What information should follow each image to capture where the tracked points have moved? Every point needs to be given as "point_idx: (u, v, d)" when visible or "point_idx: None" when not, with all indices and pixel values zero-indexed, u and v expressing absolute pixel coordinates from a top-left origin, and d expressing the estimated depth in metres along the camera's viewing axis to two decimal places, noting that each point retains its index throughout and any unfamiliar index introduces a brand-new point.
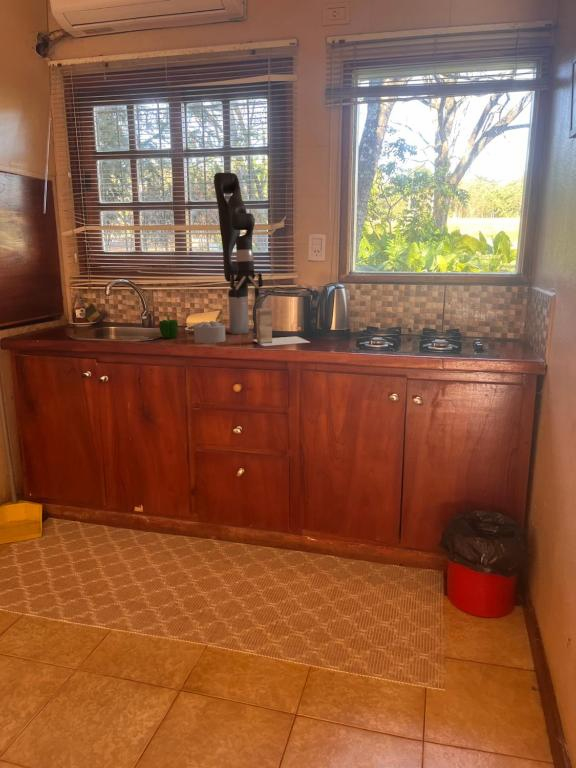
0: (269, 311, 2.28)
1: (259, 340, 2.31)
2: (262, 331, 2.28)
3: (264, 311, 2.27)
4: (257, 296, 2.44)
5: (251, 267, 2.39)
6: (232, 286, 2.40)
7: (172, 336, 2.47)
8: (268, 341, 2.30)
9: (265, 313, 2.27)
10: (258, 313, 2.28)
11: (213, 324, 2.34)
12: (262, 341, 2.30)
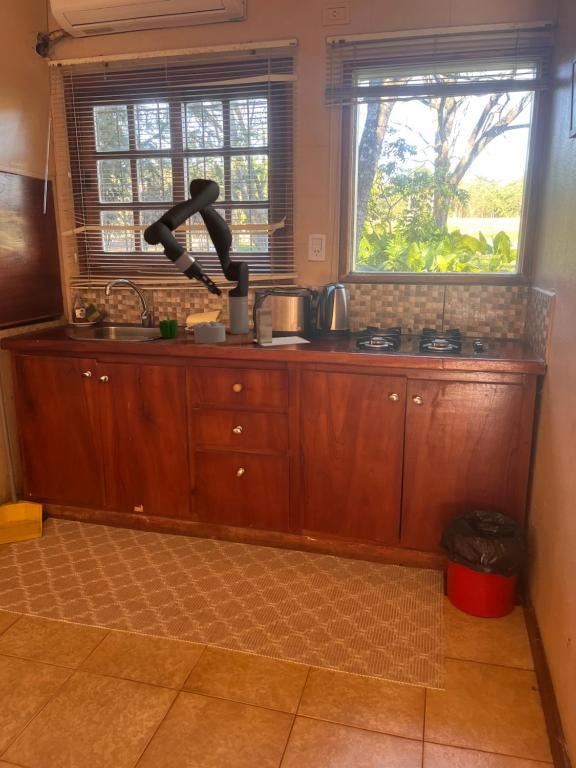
0: (269, 311, 2.28)
1: (259, 340, 2.31)
2: (262, 331, 2.28)
3: (264, 311, 2.27)
4: (218, 295, 2.17)
5: (189, 276, 2.13)
6: (203, 285, 2.24)
7: (172, 336, 2.47)
8: (268, 341, 2.30)
9: (265, 313, 2.27)
10: (258, 313, 2.28)
11: (213, 324, 2.34)
12: (262, 341, 2.30)
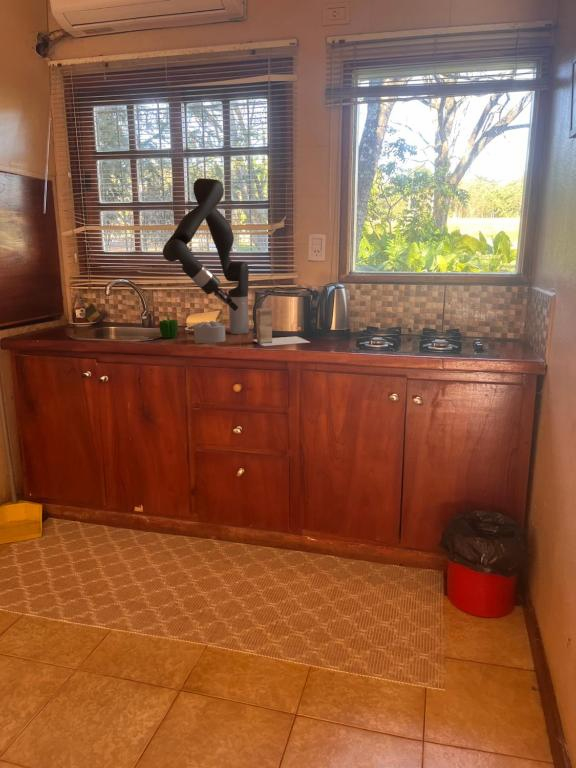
0: (269, 311, 2.28)
1: (259, 340, 2.31)
2: (262, 331, 2.28)
3: (264, 311, 2.27)
4: (234, 310, 2.24)
5: (207, 291, 2.17)
6: None
7: (172, 336, 2.47)
8: (268, 341, 2.30)
9: (265, 313, 2.27)
10: (258, 313, 2.28)
11: (213, 324, 2.34)
12: (262, 341, 2.30)
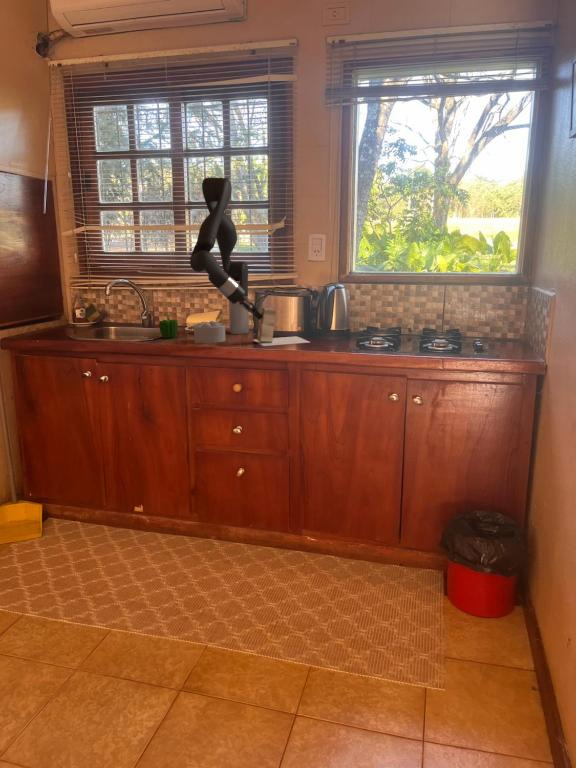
0: (273, 311, 2.28)
1: (259, 338, 2.31)
2: (263, 330, 2.29)
3: (269, 310, 2.27)
4: None
5: (232, 301, 2.22)
6: (248, 311, 2.30)
7: (172, 336, 2.47)
8: (268, 340, 2.30)
9: (269, 312, 2.28)
10: (262, 311, 2.29)
11: (213, 324, 2.34)
12: (262, 340, 2.29)
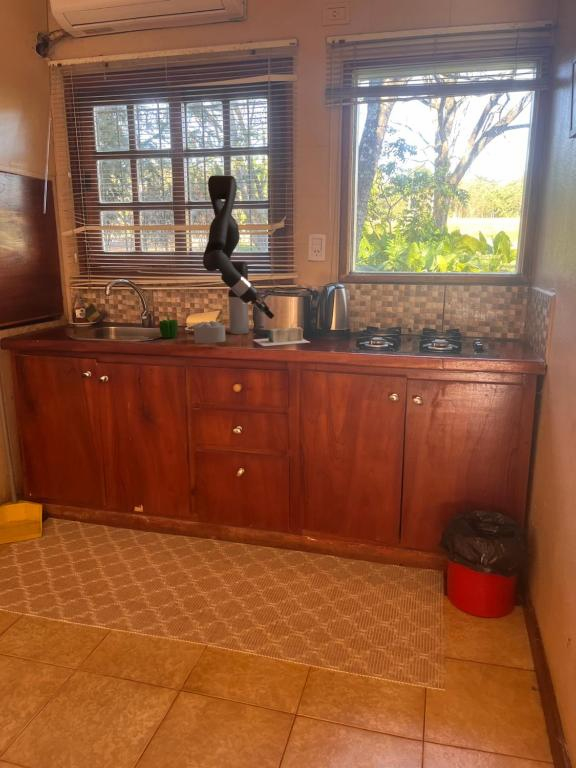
0: (301, 338, 2.36)
1: (273, 330, 2.32)
2: (283, 331, 2.32)
3: (301, 333, 2.35)
4: (270, 318, 2.31)
5: (245, 300, 2.23)
6: (260, 310, 2.32)
7: (172, 336, 2.47)
8: (273, 338, 2.31)
9: (299, 334, 2.35)
10: (297, 328, 2.36)
11: (213, 324, 2.34)
12: (273, 332, 2.30)
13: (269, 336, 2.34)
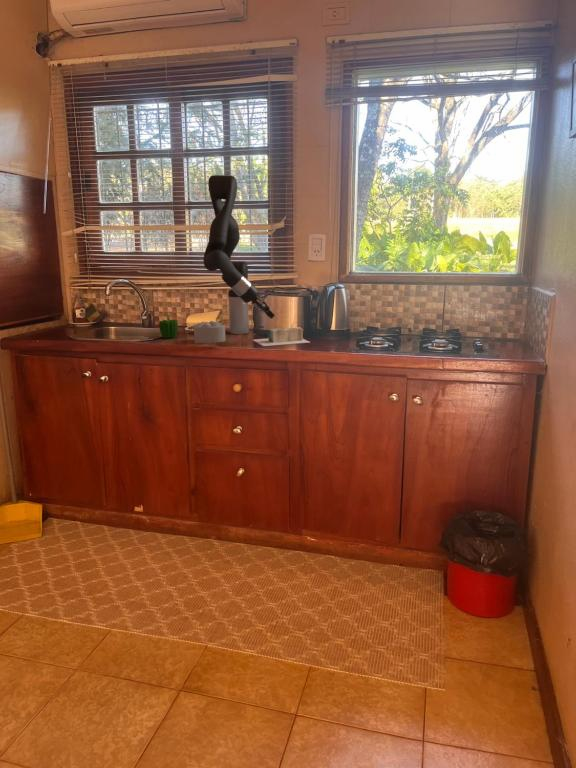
0: (301, 338, 2.36)
1: (273, 330, 2.32)
2: (283, 331, 2.32)
3: (301, 333, 2.35)
4: (271, 318, 2.31)
5: (245, 300, 2.23)
6: (260, 310, 2.32)
7: (172, 336, 2.47)
8: (273, 338, 2.31)
9: (299, 334, 2.35)
10: (297, 328, 2.36)
11: (213, 324, 2.34)
12: (273, 332, 2.30)
13: (269, 336, 2.34)
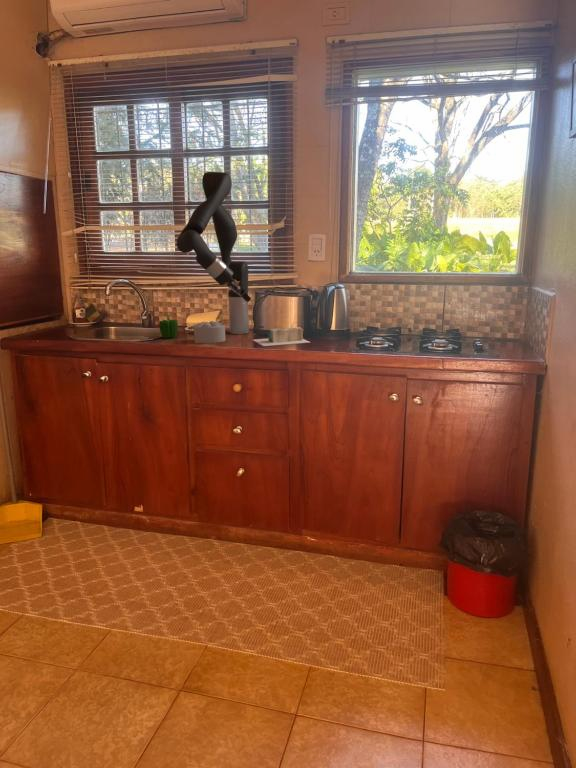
0: (301, 338, 2.36)
1: (273, 330, 2.32)
2: (283, 331, 2.32)
3: (301, 333, 2.35)
4: (247, 301, 2.26)
5: (220, 282, 2.18)
6: (236, 293, 2.27)
7: (172, 336, 2.47)
8: (273, 338, 2.31)
9: (299, 334, 2.35)
10: (297, 328, 2.36)
11: (213, 324, 2.34)
12: (273, 332, 2.30)
13: (269, 336, 2.34)
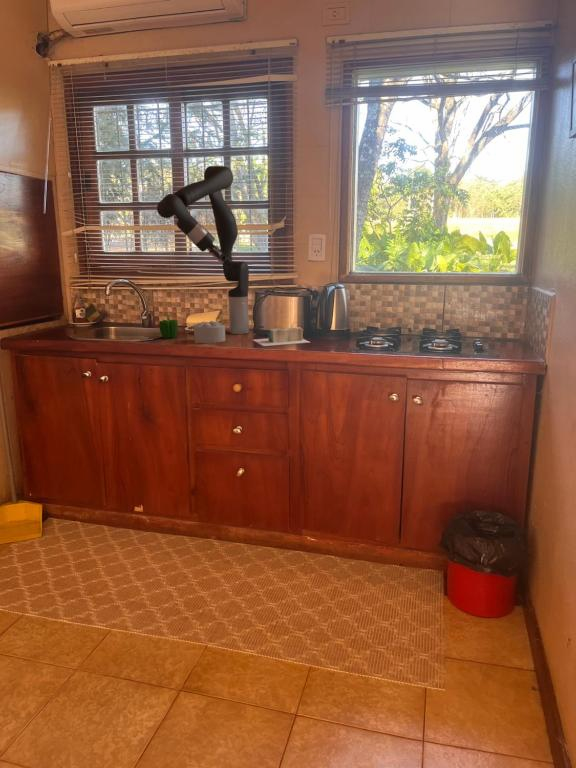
0: (301, 338, 2.36)
1: (273, 330, 2.32)
2: (283, 331, 2.32)
3: (301, 333, 2.35)
4: (229, 268, 2.25)
5: (201, 248, 2.18)
6: (218, 260, 2.26)
7: (172, 336, 2.47)
8: (273, 338, 2.31)
9: (299, 334, 2.35)
10: (297, 328, 2.36)
11: (213, 324, 2.34)
12: (273, 332, 2.30)
13: (269, 336, 2.34)
